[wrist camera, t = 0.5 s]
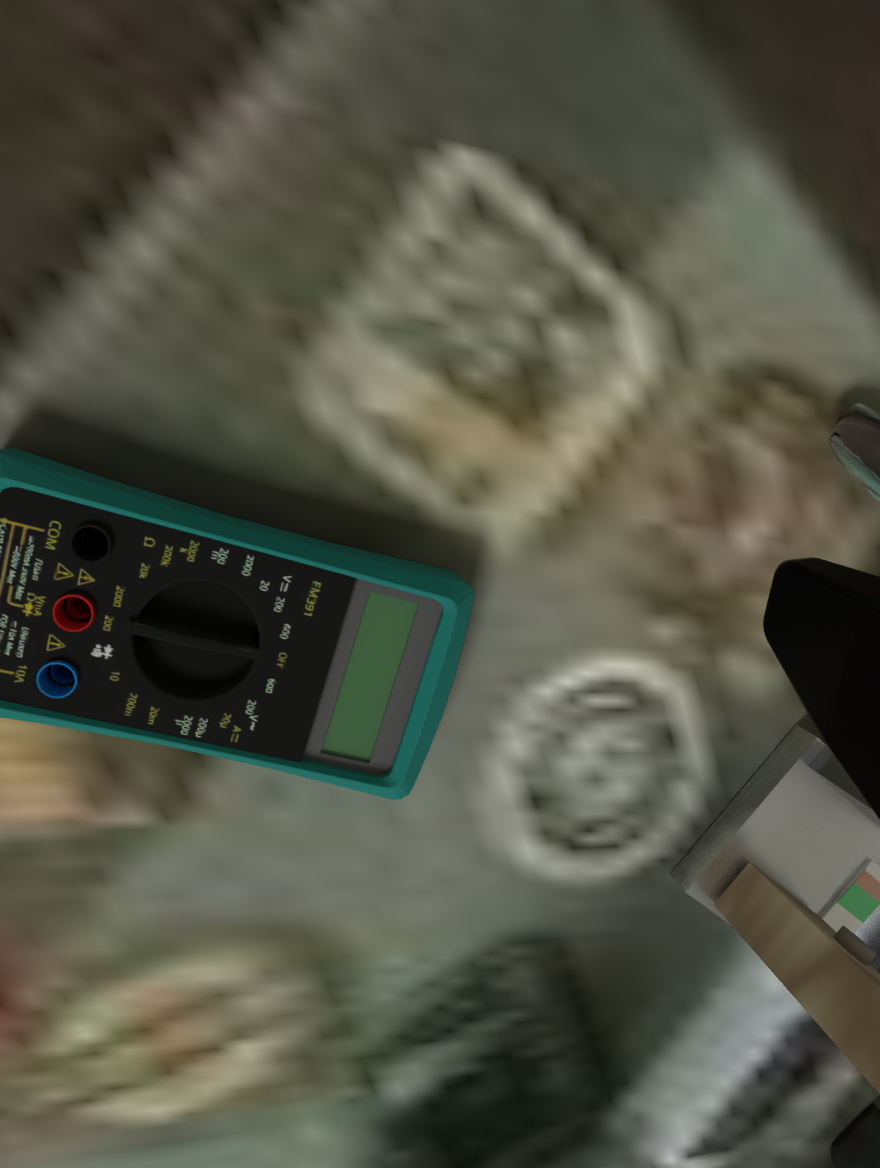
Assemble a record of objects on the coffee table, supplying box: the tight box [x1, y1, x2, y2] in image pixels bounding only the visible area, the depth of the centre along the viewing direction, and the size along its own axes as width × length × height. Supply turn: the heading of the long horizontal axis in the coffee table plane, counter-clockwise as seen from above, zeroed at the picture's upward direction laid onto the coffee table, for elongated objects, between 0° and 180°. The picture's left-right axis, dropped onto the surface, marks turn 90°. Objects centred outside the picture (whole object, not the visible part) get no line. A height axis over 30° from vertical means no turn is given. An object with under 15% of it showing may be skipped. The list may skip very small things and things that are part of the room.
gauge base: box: [671, 725, 880, 933], centre depth 27 cm, size 7×7×8 cm
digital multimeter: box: [0, 449, 473, 799], centre depth 24 cm, size 7×15×3 cm, turn 73°
